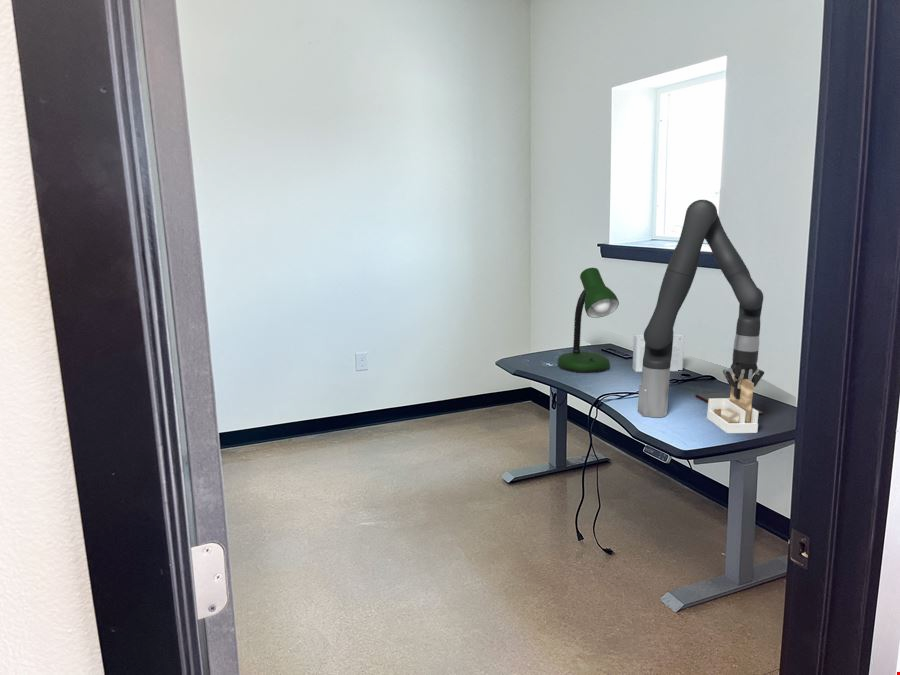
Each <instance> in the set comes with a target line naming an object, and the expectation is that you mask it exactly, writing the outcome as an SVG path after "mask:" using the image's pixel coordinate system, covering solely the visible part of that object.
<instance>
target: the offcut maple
mask: <svg viewBox="0 0 900 675" xmlns="http://www.w3.org/2000/svg"><path fill="white" fill-rule="evenodd" d="M721 418H722V419H724V420H726V421H727V422H739V413H738V412H736V411H735V410H733V409H731V408H728V409H721Z"/></svg>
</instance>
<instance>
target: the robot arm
mask: <svg viewBox="0 0 900 675" xmlns="http://www.w3.org/2000/svg"><path fill="white" fill-rule="evenodd" d="M704 241H706V243H707V245H708V246H709V247H710V248H709V249H710V250H711V252H712V254H713V256H714V259H715V261H716V264H717V265H718V267H719V269H720V271H721V273H722V274H723V275H724V278H725V279H726V281H727V282H728V284H729V286H730V287H731V289H732V291H733V293H734V296H735V298H736V299H737V301H738V304H739V305H738V306H739V307H738V308H739V309H738V318H737V321H736V328H735V329H736V330H735V335H734V336H735V337H734V342H733V349H732V350H733V352H732V364H731V365H730V368H728V369H722V373H723V375H724V377H725V379H726V381H727V383H728V385H730V387H731V386H732V387H734V397H735V398H736V399H740V392H741V389H740V388H741V383H742V382H743V378H745V379H747V380H749V381H751V382H753V383H754V387H753V388H755V387H756V386H757V385H758V383H759V382H760V381H761V379H762V378H763V376H764V375H765V371H764V370H762V369H760V368H758V364H757V363H758V360H759V350H760V332H761V316H762V309H763V302H764V292H763V291H762V289H760V288H759V287H758V286H757V284H756V283H755V282H754V280H753V278H752V276H751V273H750V270H749V269H748V267H747V265H746V263H745V262H744V260H743V258H742V256H740V254H739V252H738V251H737V249H736V247H735V246H734V244H733V243H732V241H731V240H730V239H729V236H728V235H727V233H726V231H725V229H724V226H723V225H722V222H721V219H720V217H719V214H718V209H717V207H716V205H715V204H714V203H713V202H712V201H710V200H707V199H697V200H695V201H693V202H692V203H690V204H689V206H688V207H687V209H686V211H685V216H684V222H683V225H682V228H681V233H680V236H679V240H678V242H677V243H676V245H675V247H674V251H673V253H672V255H671V257H670V260H669V262H668V264H667V267H666V270H665V273H664V275H663V278H662V282H661V285H660V289H659V292H658V295H657V296H658V297H657V301H656V305H655V308H654V310H653V313H652V316H651V318H650V320H649V322H648V323H647V326H646V328H644V332H643V335H644V340H645V351H644V356H643V367H642V372H641V383H640V385H638V398H637V399H638V400H637V412H638V413H639V414H640V415H642V417H648V418H649V417H650V418H664V417H666V416H667V414H668V403H669V402H668V401H669V388H670V376H671V371H670V365H671V358H672V347H673V334H674V327H675V323H676V319H677V316H678V313H679V311H680V310H681V307H682V306H683V304H684V302H685V300H686V299H687V298H686V297H687V296H688V294H689V291H690V289H691V286H692V284H693V282H694V278H695V276H696V273H697V270H698V267H699V261H700V256H701V250H702V246H703V244H704ZM732 374H735V376H734V380H735V381H734V380H733V378H732Z"/></svg>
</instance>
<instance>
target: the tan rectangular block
mask: <svg viewBox="0 0 900 675" xmlns="http://www.w3.org/2000/svg"><path fill="white" fill-rule="evenodd" d="M731 376H732V378H733V380H734V376H735V374H734V373H732V375H731ZM734 381H735V380H734ZM754 388H755V387H754V383H753V382H751V381H749V380H747V379H745V378H743V382H742V383H741V388H740V389H741V392H740V399H736V398H735V397H734V387H732V386H731V385H730V393H729V396H730V401H731V402H732V403H734V404H735V405H737V406H738V407H740V408H741V409H743V410H745V411H746V415H745V423H750V415H751V407H753V406H752V404H753V396H754V395H753V394H754Z"/></svg>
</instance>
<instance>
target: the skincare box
mask: <svg viewBox="0 0 900 675" xmlns="http://www.w3.org/2000/svg"><path fill="white" fill-rule="evenodd" d="M684 347H685V335H683V334H679V333H678V334H676V333H675V334H674V333H673V347H672V358H671V365H670V372H679V371H678V370H683V367H684V354H685V352H684ZM644 351H645V340H644V334H633V351H632V370H633V371H634V372H635V373H642V367H643V356H644Z"/></svg>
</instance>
